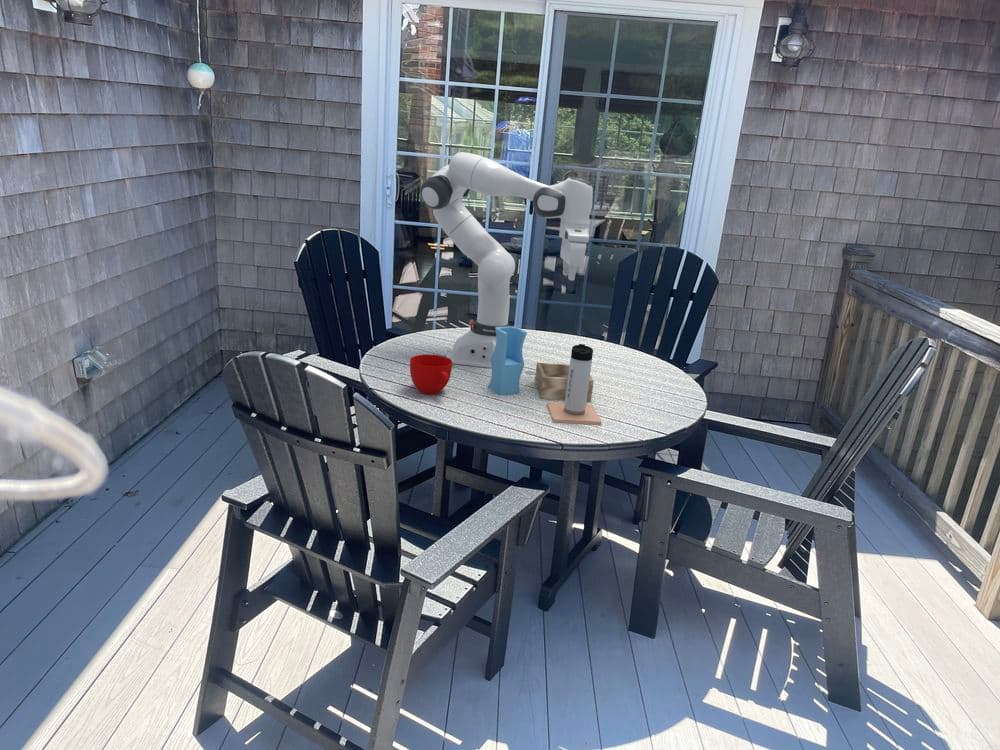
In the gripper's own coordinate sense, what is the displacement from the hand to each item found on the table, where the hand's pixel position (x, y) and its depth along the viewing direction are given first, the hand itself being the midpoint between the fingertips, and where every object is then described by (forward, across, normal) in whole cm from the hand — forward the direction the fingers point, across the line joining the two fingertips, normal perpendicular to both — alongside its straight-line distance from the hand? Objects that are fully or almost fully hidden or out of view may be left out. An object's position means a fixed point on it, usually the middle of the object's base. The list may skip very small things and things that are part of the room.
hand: (568, 277), depth 226 cm
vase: (+37, +4, -17) cm, 41 cm away
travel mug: (+36, +22, +2) cm, 43 cm away
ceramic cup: (+37, +11, -40) cm, 56 cm away
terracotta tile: (+37, +23, +2) cm, 44 cm away
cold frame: (+37, +2, +2) cm, 37 cm away
